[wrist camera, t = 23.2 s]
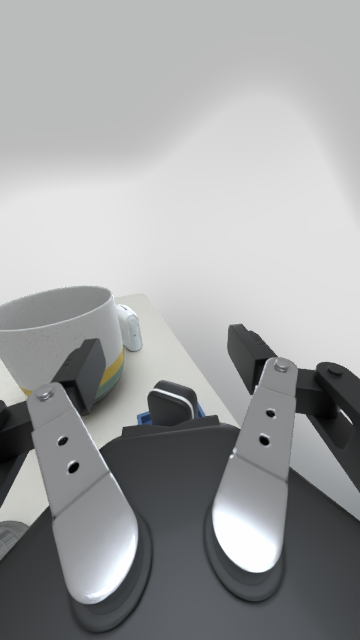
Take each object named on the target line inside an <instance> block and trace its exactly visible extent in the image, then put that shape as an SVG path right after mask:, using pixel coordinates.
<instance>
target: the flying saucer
mask: <svg viewBox="0 0 360 640" xmlns="http://www.w3.org/2000/svg"><path fill="white" fill-rule="evenodd" d="M28 529H29V526H27V525H26V524H24V523H21V522H17V521H3V522H0V560H1V559H2V558H3V557H4V556H5V554H6V553H7V552H8V551H9V550H10V549H11V548H12V547H13V545H14V544H15V543H16V542H17V541H18V540H19V539H20V538H21V536H22V535H23V534H24V533H25V532H26V531H27V530H28Z"/></svg>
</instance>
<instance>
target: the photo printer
mask: <svg viewBox="0 0 360 640" xmlns="http://www.w3.org/2000/svg"><path fill="white" fill-rule="evenodd" d="M115 307H116V311H117V316H118V321H119V326H120V331H121V337H122V343H123V345H124V346H126V347H127V348H128V349H129V350H130V351H138V350H140V349H141V347H142V339H141V333H140V327H139V321H138V317H137V315H136V314H135V313H134V312H133V311H132V310H131V309H130V308H129V307H127V306H125V305H116V306H115Z"/></svg>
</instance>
